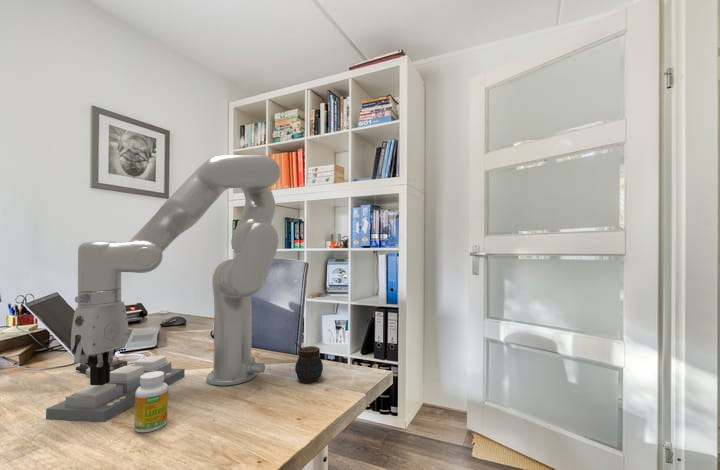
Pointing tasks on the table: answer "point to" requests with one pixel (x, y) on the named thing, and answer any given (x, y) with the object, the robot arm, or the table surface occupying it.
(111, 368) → the walkie-talkie
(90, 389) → the button
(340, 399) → the table surface
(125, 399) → the button panel
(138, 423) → the supplement bottle
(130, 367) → the button
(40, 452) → the table surface
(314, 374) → the mate gourd
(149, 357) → the button
